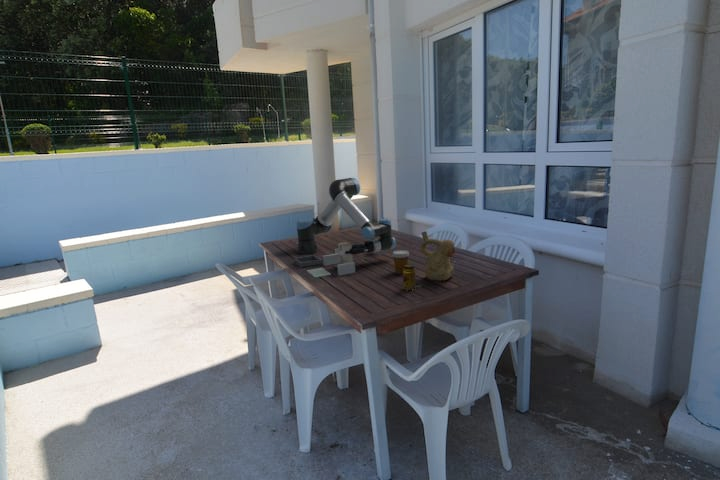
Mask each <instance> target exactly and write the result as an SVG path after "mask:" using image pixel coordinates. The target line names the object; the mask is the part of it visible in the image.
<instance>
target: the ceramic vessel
mask: <svg viewBox="0 0 720 480" xmlns="http://www.w3.org/2000/svg"><path fill="white" fill-rule="evenodd" d="M421 236H422V240H423V241H422V242H421V243H420V251H421V253H422V254H423V255H425V256H427V259H426V261H425V265H424V273H425V277H426V278H427V279H428V280H431V281H436V280H437V282H438V281H439V282H441V281H442V280H443V281H446V280H449V278H451V276H452V275H453V274H454V272H455V269H454V266H453V265H452V264H451V258H453V256H455V254H456V253H457V251H456V249H455V245H456V244H455V242H454V241H453V240H451V239H444V240H439V239H435V238H429V236H428V232H427V231H426V230H425V231H422V232H421ZM428 244H435V245H436V246H437V248H436V249H435V250H433V251H430V250H428V249H427V248H426V245H428Z"/></svg>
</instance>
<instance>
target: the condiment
mask: <svg viewBox="0 0 720 480" xmlns="http://www.w3.org/2000/svg"><path fill="white" fill-rule="evenodd" d="M402 277H403V287H404V289H406V290H405V291H408V290H412V291H411V292H414V291H416V290H417V289H420V288H421V287H422V286H421V285H416V271H415V265H413V264H408V265H404V271H403V274H402ZM416 286H417V287H416ZM415 287H416V288H415ZM414 289H415V290H414ZM413 290H414V291H413Z"/></svg>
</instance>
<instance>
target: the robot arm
mask: <svg viewBox="0 0 720 480" xmlns="http://www.w3.org/2000/svg"><path fill="white" fill-rule="evenodd" d="M360 192H361V185H360V183H359V180H358V179H356V178H355V177H347V178H341V179H336V180H333V181H332V182H331V183H330V185H329V189H328V193H329V197H330V198H331V200H330V201H329V203H328V204H327V206H325V208H324V210H323V211H322V212H319V213H318V214H317V216H316V217H315V218H312V217H304V218H301V219H298V220H297V221H296V233H297V245H296V254H298V255H312V254H315V253H318V252H319V247H318V244H317V243H316V237H315V236H317V235H321V234H326V233H328V232H330V231H331V230H332V229H333V219H334V218H335V217H336V216H337V215H338V213H339V211H340V210H343V211H344V212H345V213H346V214H347V216H348V217H349V218H350V219H351V220H352V221H353V222H354V223H355V224H356V226H357V227H358V228H359V229H360V235H361V237H362V238H363V239H364V240H366V241H364V243H363V244H362V243H356V244H352V249H351V248H350V249H348V250H342V251H339V247H338V248H334V254H337V253H338V254H339V256H341V255H347V254H352V256H354V255H359V254H362V253H367V254H371V253H378V252H381V251H382V252H383V251H388V250H392V249H395V248H396V246H397V240H396V238H395V237H394V236H392V235H393V234H392V232H393V231H392V220H391V219H390V218H380V219H379V220H378V223H375V224H373V222H372V221H371V220H370V219H368V217H367V216H366V215H365V214H364V213H363V212H362V210H361V209H360V208H359V207H358V206H357V205H356V204H355V203H354V202H353V200H352V198H353V197H354V196H358V194H360ZM377 237H379V238H377ZM374 238H376V239H374Z"/></svg>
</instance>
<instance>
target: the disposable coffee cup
mask: <svg viewBox="0 0 720 480" xmlns="http://www.w3.org/2000/svg"><path fill="white" fill-rule="evenodd" d="M409 256H410V252H409V251H408V250H404V249H400V250H394V251H393V252H392V258H393V263H394V271H395V273H396V274H397V275H403V271H404V265H409V264H408V263H409Z"/></svg>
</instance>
